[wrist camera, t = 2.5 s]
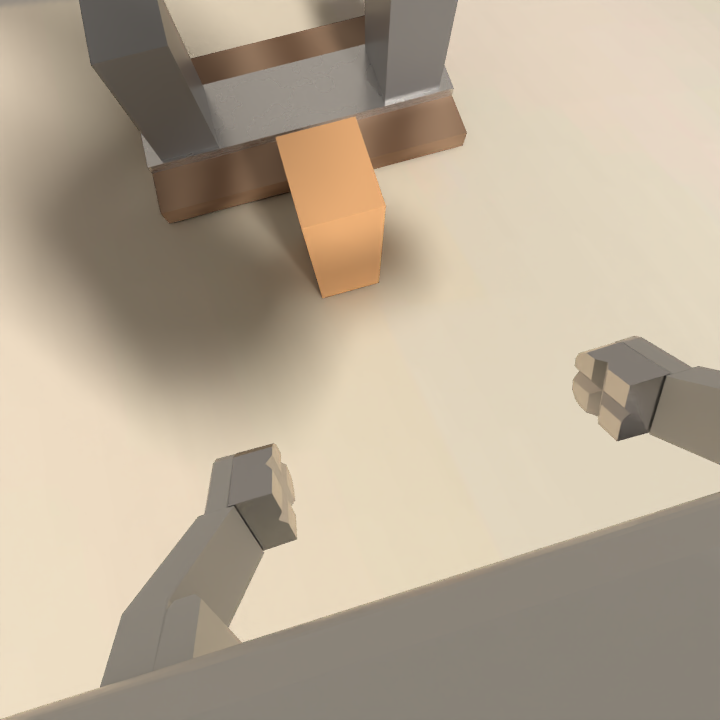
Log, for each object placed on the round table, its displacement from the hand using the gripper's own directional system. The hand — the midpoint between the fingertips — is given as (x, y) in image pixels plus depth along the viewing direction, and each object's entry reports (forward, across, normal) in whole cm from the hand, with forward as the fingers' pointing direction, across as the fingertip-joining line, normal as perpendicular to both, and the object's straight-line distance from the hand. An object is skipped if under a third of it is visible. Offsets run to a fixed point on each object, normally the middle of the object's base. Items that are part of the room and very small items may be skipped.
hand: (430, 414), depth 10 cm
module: (+19, 0, +2) cm, 19 cm away
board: (+28, 0, -7) cm, 28 cm away
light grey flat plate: (+27, 0, -8) cm, 28 cm away
